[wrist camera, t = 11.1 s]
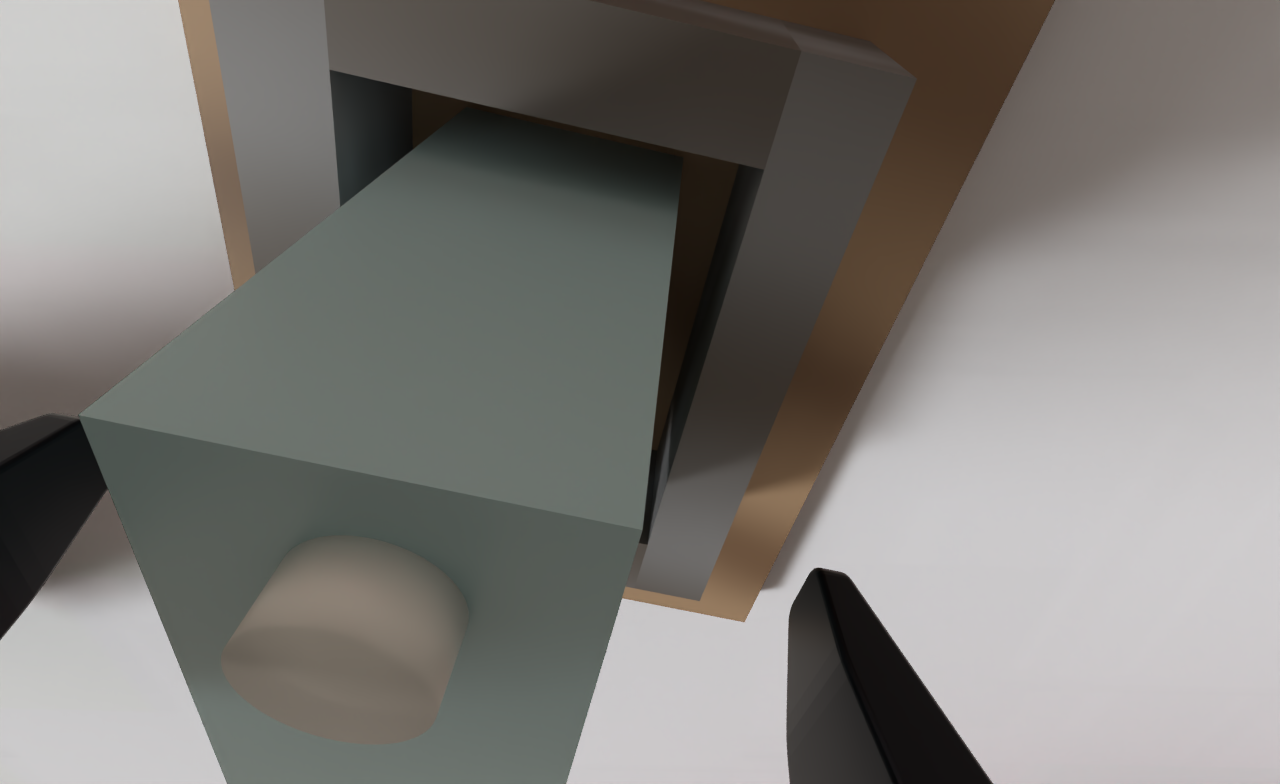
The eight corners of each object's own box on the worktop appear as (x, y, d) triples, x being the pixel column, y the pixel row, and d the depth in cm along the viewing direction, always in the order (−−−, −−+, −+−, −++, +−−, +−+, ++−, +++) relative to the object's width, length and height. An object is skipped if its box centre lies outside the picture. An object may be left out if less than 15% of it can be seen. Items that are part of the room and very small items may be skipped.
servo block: (623, 409, 16) (534, 922, 8) (456, 373, 15) (187, 862, 7) (683, 157, 12) (631, 627, 4) (466, 106, 12) (-26, 497, 4)
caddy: (743, 594, 21) (749, 719, 18) (298, 505, 20) (219, 619, 17) (1165, -292, 9) (1423, -409, 6) (119, -576, 8) (-257, -888, 5)
